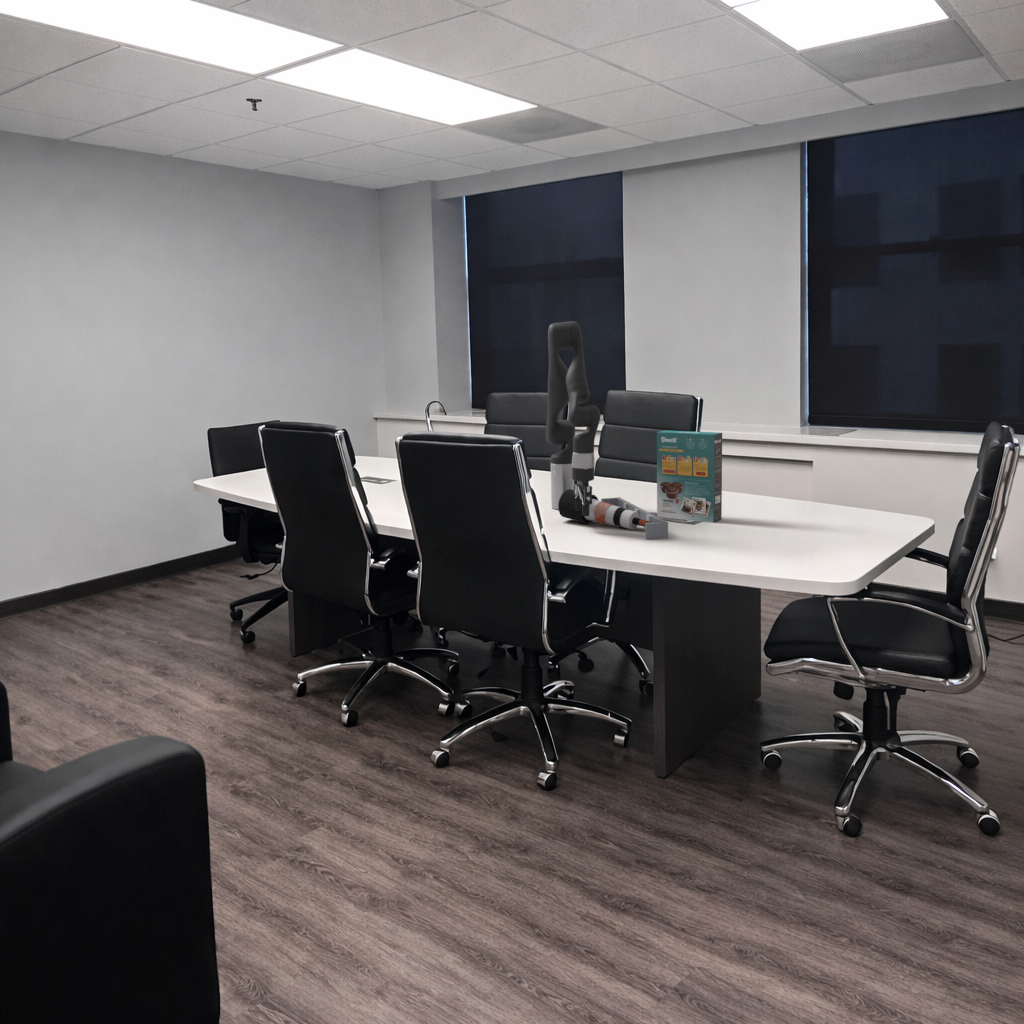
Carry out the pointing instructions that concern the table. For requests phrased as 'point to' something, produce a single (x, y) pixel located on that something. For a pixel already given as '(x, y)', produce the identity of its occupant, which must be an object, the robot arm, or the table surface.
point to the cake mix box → (689, 475)
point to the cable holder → (653, 528)
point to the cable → (599, 512)
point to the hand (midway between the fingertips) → (582, 513)
